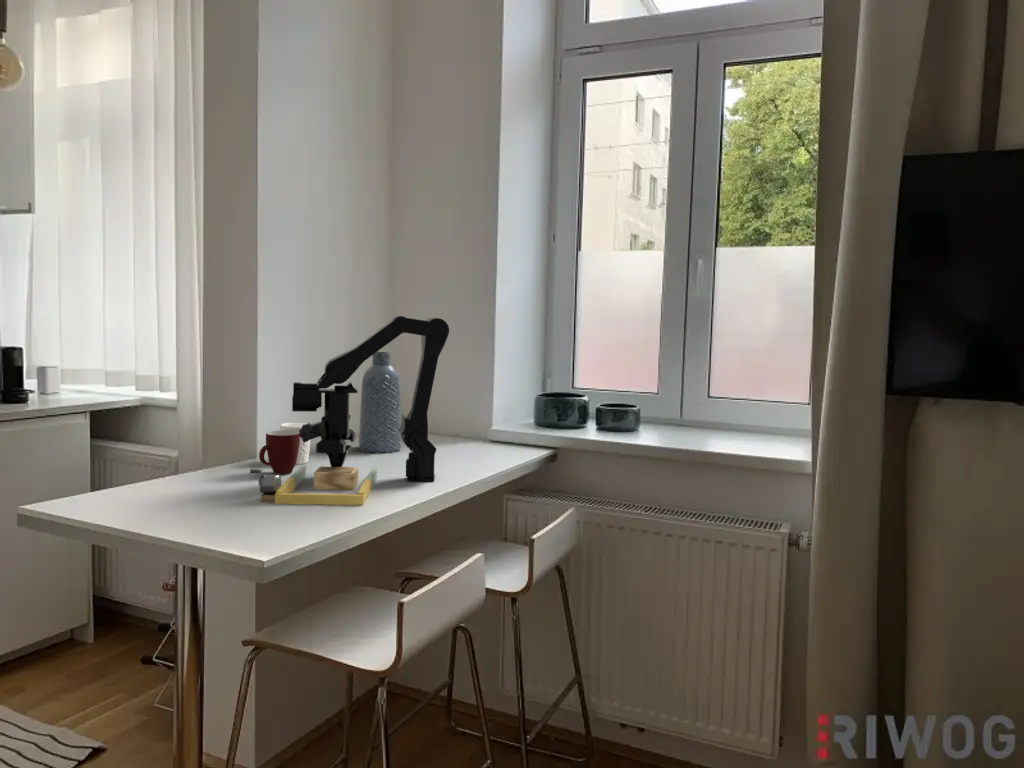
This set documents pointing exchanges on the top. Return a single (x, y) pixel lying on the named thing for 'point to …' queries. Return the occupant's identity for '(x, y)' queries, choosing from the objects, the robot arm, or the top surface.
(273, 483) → the winch
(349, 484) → the box
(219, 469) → the top surface
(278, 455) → the mug
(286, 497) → the bay
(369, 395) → the vase
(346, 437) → the robot arm
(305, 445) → the white cup
